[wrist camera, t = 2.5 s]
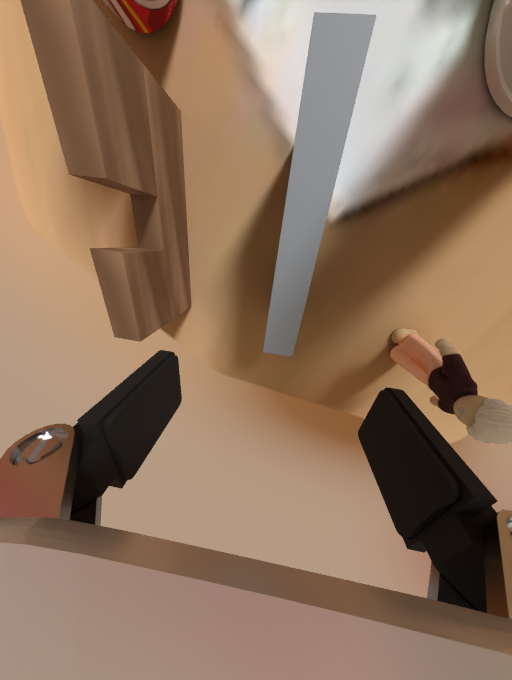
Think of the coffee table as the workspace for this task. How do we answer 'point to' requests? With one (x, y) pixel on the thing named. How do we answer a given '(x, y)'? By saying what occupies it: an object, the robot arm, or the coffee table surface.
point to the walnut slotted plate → (119, 156)
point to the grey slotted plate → (315, 164)
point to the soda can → (142, 13)
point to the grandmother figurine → (453, 386)
